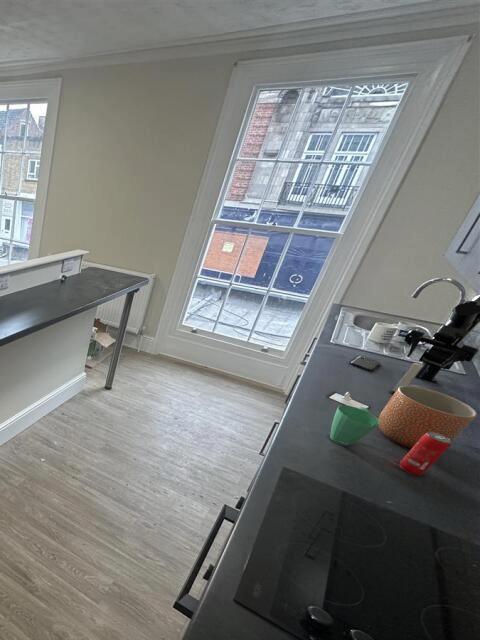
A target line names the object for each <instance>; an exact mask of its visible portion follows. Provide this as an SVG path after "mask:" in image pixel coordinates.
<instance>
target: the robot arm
mask: <svg viewBox="0 0 480 640" xmlns="http://www.w3.org/2000/svg"><path fill="white" fill-rule="evenodd" d="M479 324H480V294H479V295H475V296H474V297H473V298H472V300H465V301H464V302H461V303H459V304H457V305H456V306H454V307H453V309H452V313H451V315H450V317H449V321H447V322H446V323H445V324H442V325H441V326H440V327H439V328H438V330H437V331H436V332H435V333H434V334H433V335H432V338H431V337H427V336H425V334H426V333H425V332H424V331H420V330H417V329H411V330H409V331H408V332H407V333H406V336H405V337H404V339H403V341H404V342H405V343H406V344H407V345H408V346H409V350H408V353H407V358H409V357H411V356H412V354H413V353H414V352H415V350H416V349H417V347H418V345H419V344H420V342H421V343H425V344H427V345H429V346H430V347H427V348H426V350H425V351H424V352H423V353H422V355H421V356H420V358H419V359H418V362H422V363H421V365H424V366H423V367H422V368H421V370H420V371H419V372H418V374H417V375H416V376H415V377H414V378H418V379H420V380H421V379H422V380H426V381H430V382H432V383H433V382H434V383H436V382H437V379H435V377H436V376H437V375H438V374H439V373H440V371H441V370H449V371H450V370H451V368H452V367H453V365H454V364H455V363H458V362H471V361H472V360H473V359H474V358H475V357H476V356H477V354H478V352H479V348H477V347H474V346H471V345H469V344H468V345H466V344H463V345H462V347H459V345H460V344H461V343H462V342H463V341H464V340H465V339H466V337H468V335H469V334H471V332H472V331H473V330H474V329H475V328H476V327H477V326H478V325H479Z"/></svg>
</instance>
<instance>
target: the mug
mask: <svg viewBox="0 0 480 640" xmlns="http://www.w3.org/2000/svg"><path fill="white" fill-rule="evenodd" d="M332 419H333V420H332V423H331V428H330V434H329V437H330V439H331V441H333V442H334V443H336V444H338V445H341V446H345V447H348V446H350V445H352V444H354V443H356V442H358V441H360V440H361V439H362V438H364V437H365V436H367V435H369V434H371V432H373V430H375V429H376V428H377V427H379V426H378V425H379V424H380V421H379V417H377V416H375V414H372V413H371V412H370V409H368V408H364V407H360V408H356V407H352V406H348V405H345V404H342V405H339V406H338V407H337V409H336V411H335V412H334V416H333V418H332ZM340 441H341V442H340ZM342 442H344V443H342ZM345 443H349V444H345Z"/></svg>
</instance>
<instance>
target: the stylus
mask: <svg viewBox="0 0 480 640" xmlns="http://www.w3.org/2000/svg"><path fill="white" fill-rule="evenodd" d="M423 366H424V365H422V363H421V364H420V363H418V362H413V363H412V365H411V366H410V367H409V368H408V370H407V371H406V372H405V374H403V377H401V379H400V380H399V381H398V383H397V384H396V386H394V389H392V391H391V392H390V393H391V394H392V395H394V393H395V392H396V390H397V389H398V388H399V387H401V386H410V384H411V383H412V381H413V380H414V379H415V378H416V377H415V376H416V375H417V374H418V372H419V371H420V370H421V368H422V367H423Z"/></svg>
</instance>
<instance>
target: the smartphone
mask: <svg viewBox="0 0 480 640" xmlns="http://www.w3.org/2000/svg"><path fill="white" fill-rule="evenodd" d="M380 364H381V362H380V361H378V360H376V359H372V358H369V357H367V356H364V355H360V356H358V357H356V358H355V359H353V360H352V361H351V362H350V365H352V366H355V367H357V368H360V369H364V370H366V371H371V372H372V371H373V370H374V369H375V368H376V367H378V366H379V365H380Z"/></svg>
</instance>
